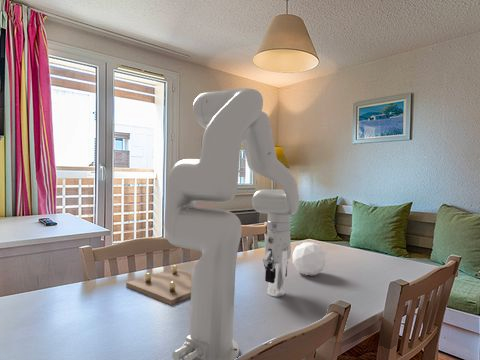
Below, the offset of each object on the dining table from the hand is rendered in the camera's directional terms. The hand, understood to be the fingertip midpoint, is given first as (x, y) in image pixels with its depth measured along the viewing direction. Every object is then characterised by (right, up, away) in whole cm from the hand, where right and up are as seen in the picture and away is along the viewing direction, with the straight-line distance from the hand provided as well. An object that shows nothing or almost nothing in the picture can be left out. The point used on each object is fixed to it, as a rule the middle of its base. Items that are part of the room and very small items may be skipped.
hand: (276, 278), depth 105 cm
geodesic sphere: (+15, -5, +22) cm, 28 cm away
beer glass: (0, -5, 0) cm, 5 cm away
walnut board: (-35, -4, +3) cm, 35 cm away
